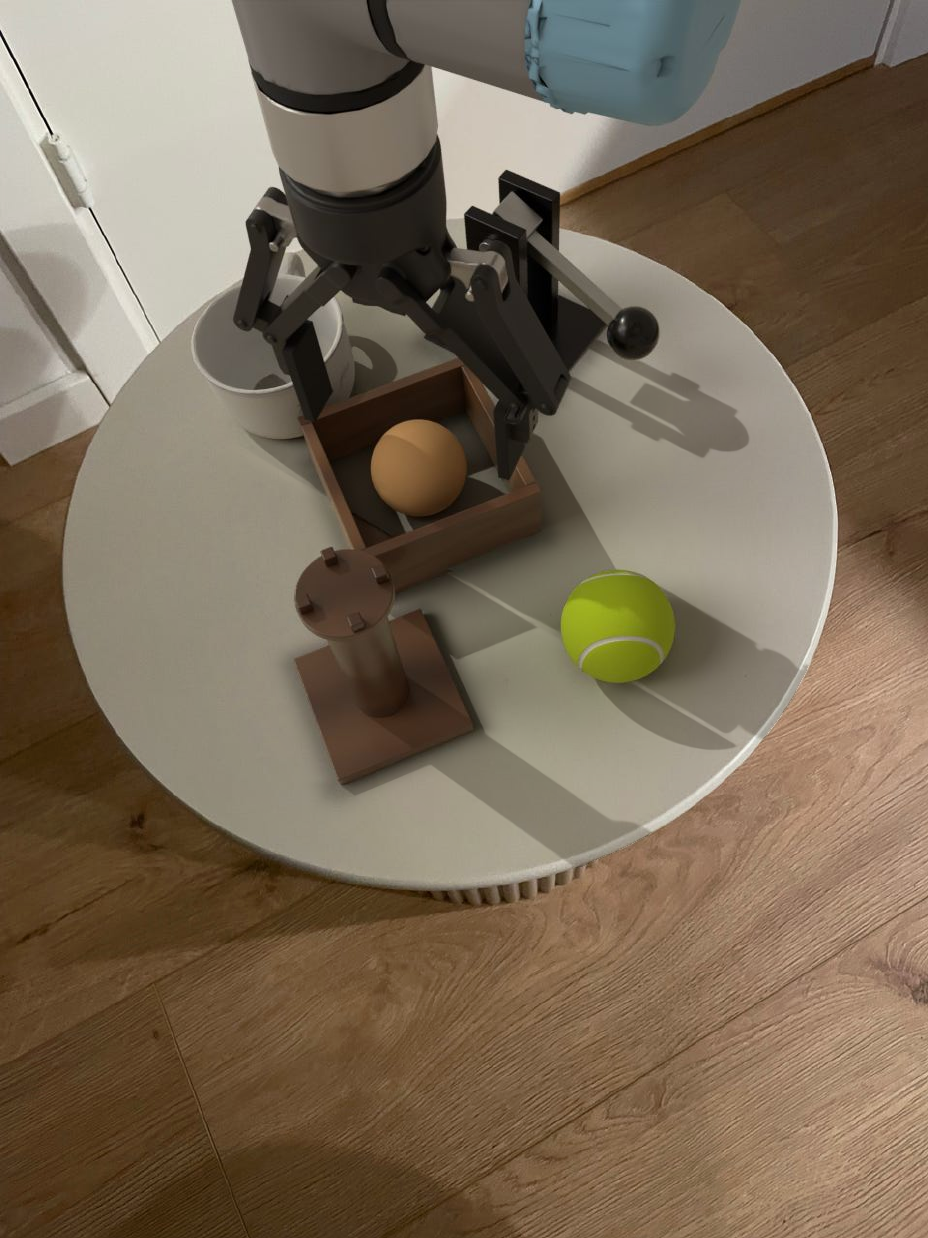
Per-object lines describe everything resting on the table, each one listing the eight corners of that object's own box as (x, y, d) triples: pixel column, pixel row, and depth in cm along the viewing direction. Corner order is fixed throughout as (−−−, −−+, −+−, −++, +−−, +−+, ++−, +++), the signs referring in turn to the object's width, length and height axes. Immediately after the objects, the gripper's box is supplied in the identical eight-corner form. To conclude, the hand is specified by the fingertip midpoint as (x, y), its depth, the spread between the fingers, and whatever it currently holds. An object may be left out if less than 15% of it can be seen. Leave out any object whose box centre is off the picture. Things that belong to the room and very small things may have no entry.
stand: (474, 731, 63) (455, 624, 49) (341, 787, 62) (284, 693, 48) (422, 616, 67) (392, 487, 53) (296, 666, 66) (232, 548, 52)
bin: (542, 537, 69) (542, 491, 64) (372, 605, 68) (358, 562, 62) (472, 407, 75) (467, 353, 69) (314, 466, 73) (296, 416, 68)
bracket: (608, 328, 77) (619, 191, 66) (543, 407, 74) (544, 277, 63) (491, 273, 80) (483, 134, 69) (425, 346, 78) (405, 213, 66)
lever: (653, 345, 71) (678, 321, 68) (627, 378, 70) (651, 356, 67) (503, 209, 70) (521, 178, 66) (473, 241, 68) (490, 211, 65)
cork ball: (484, 513, 69) (479, 458, 64) (397, 547, 69) (384, 494, 63) (449, 444, 72) (441, 386, 66) (365, 476, 71) (350, 420, 66)
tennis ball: (673, 697, 63) (687, 651, 57) (563, 701, 64) (565, 656, 57) (662, 600, 66) (674, 546, 60) (557, 604, 67) (558, 551, 60)
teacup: (335, 471, 73) (312, 401, 66) (199, 444, 75) (163, 373, 68) (392, 329, 79) (377, 250, 71) (265, 307, 81) (238, 228, 73)
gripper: (648, 145, 44) (617, 440, 63) (164, 44, 49) (269, 342, 68) (591, 265, 41) (577, 536, 60) (84, 143, 47) (217, 425, 65)
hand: (413, 433), depth 64 cm, fingers open, 13 cm apart
